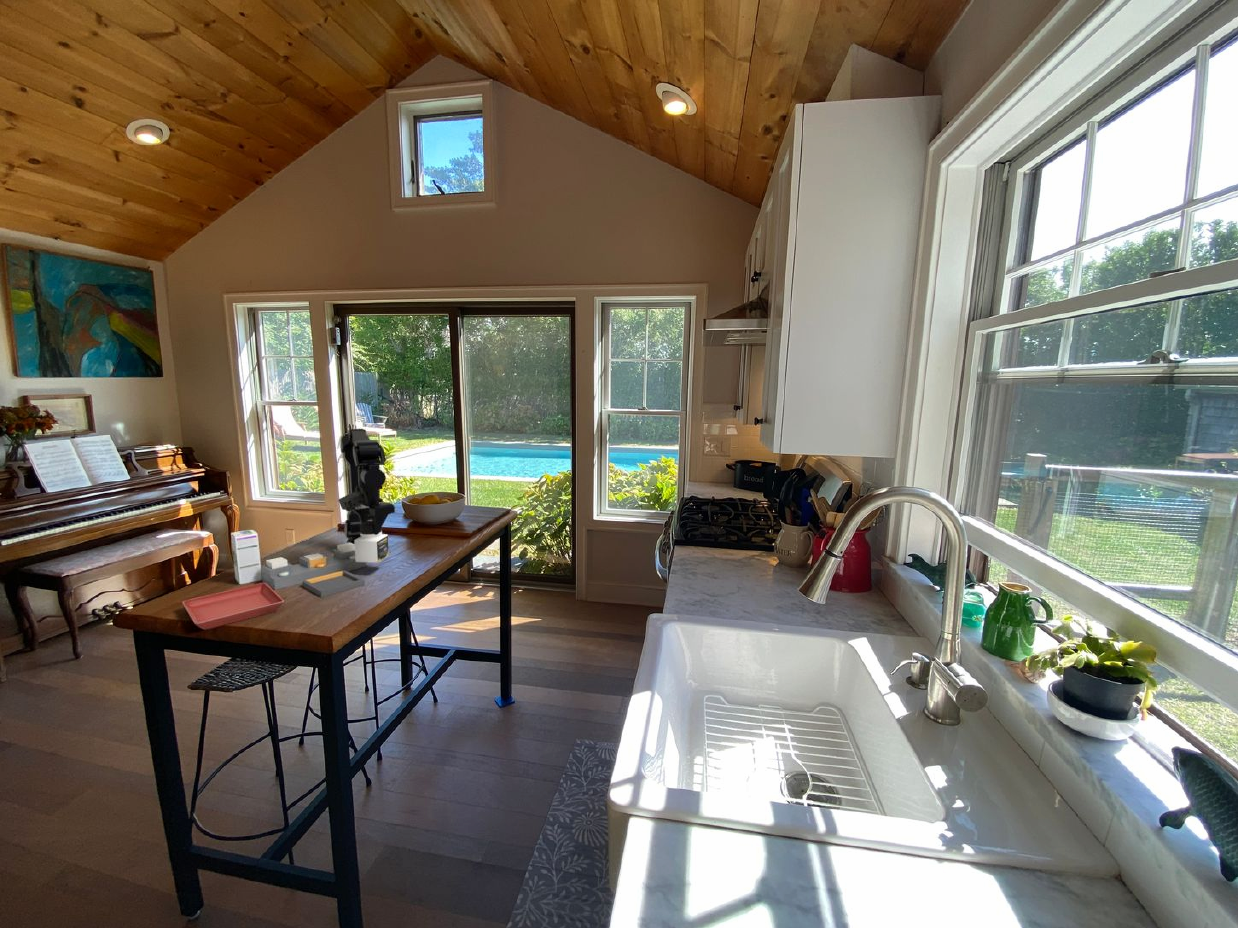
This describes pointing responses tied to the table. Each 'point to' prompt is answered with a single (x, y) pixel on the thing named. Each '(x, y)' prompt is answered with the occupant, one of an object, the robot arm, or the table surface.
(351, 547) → the breaker
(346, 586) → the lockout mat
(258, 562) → the syrup box
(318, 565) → the grey slotted tray
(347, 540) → the robot arm
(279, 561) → the breaker
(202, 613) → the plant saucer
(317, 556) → the block
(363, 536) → the medicine bottle
